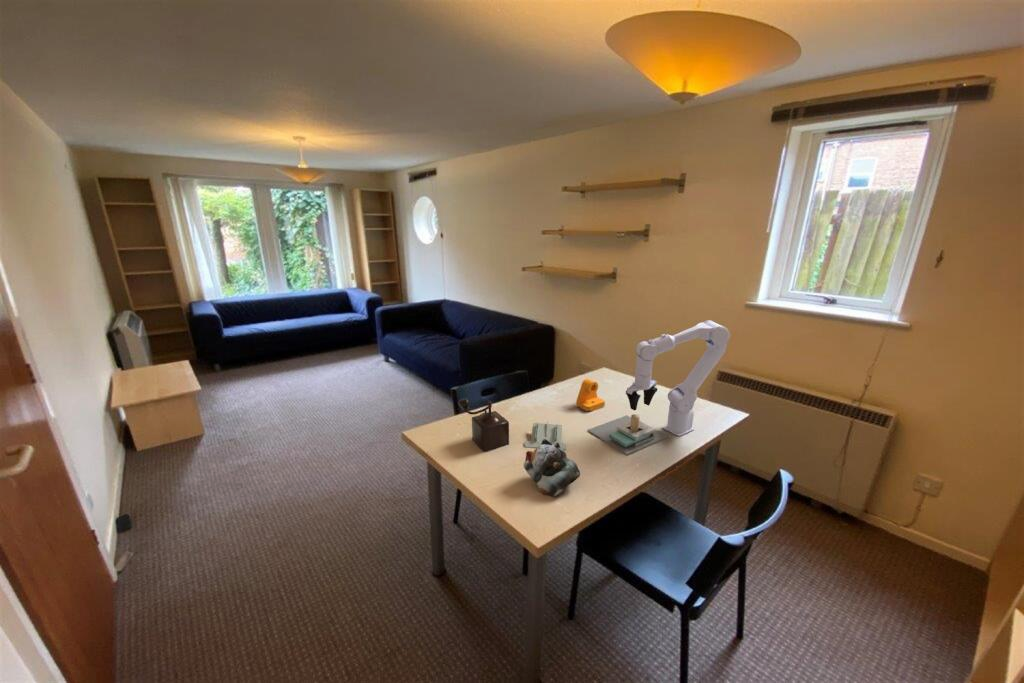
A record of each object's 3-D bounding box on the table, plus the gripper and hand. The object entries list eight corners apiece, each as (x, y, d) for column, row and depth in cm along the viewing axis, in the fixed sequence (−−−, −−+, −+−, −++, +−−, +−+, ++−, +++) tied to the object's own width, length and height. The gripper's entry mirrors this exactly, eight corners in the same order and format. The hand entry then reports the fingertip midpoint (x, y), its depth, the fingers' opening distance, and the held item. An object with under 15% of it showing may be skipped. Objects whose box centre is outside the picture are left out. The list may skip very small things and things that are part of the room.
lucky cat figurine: (546, 503, 114) (526, 459, 114) (532, 493, 126) (513, 453, 125) (588, 476, 119) (568, 434, 119) (570, 469, 131) (552, 431, 130)
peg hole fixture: (635, 428, 154) (636, 419, 153) (654, 438, 147) (655, 429, 146) (607, 439, 146) (608, 430, 145) (626, 451, 139) (627, 441, 138)
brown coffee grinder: (495, 431, 154) (494, 388, 149) (509, 444, 145) (509, 399, 140) (458, 442, 146) (456, 397, 141) (471, 457, 137) (469, 410, 132)
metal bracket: (528, 417, 153) (567, 420, 151) (528, 428, 156) (566, 431, 154) (524, 446, 141) (566, 449, 139) (524, 457, 144) (566, 460, 142)
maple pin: (633, 435, 150) (635, 413, 147) (639, 438, 147) (641, 416, 144) (627, 437, 148) (629, 415, 146) (633, 441, 146) (635, 418, 143)
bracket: (587, 413, 168) (589, 387, 165) (576, 406, 174) (577, 381, 171) (605, 406, 174) (607, 381, 171) (593, 400, 180) (595, 376, 176)
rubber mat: (626, 416, 165) (626, 415, 165) (667, 437, 149) (668, 436, 149) (587, 431, 154) (587, 429, 154) (627, 455, 138) (627, 454, 138)
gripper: (647, 366, 155) (644, 398, 159) (621, 374, 147) (618, 407, 151) (662, 372, 149) (659, 405, 153) (636, 380, 141) (633, 414, 145)
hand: (640, 406), depth 152 cm, fingers open, 7 cm apart
